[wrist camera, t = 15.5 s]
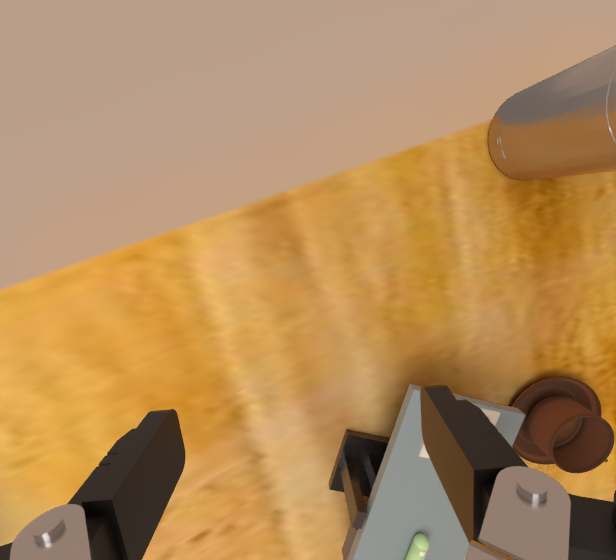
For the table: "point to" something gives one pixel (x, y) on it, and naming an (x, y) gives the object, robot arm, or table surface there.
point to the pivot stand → (357, 470)
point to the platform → (416, 493)
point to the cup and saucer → (563, 425)
